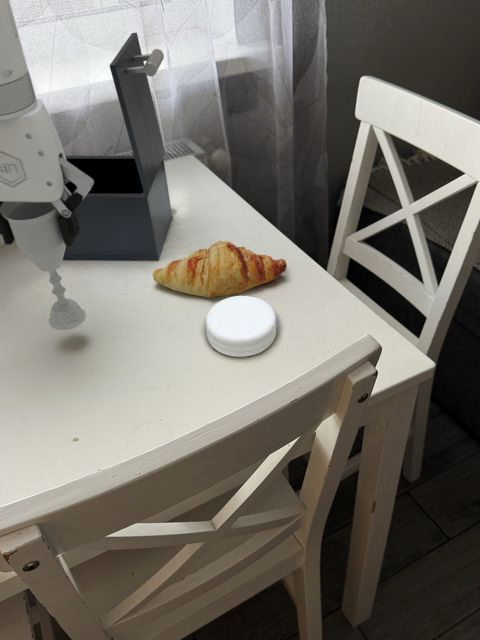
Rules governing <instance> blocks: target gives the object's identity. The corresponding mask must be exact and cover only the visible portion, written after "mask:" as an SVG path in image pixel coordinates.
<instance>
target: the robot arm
mask: <svg viewBox="0 0 480 640" xmlns="http://www.w3.org/2000/svg"><path fill="white" fill-rule="evenodd" d="M51 117H52V116H51V115H50V113H49V110H48V109H47V107H46V105H45V103H44V102H43V100H42V99H41V98H37V97H36V93H35V89H34V85H33V82H32V78H31V74H30V71H29V68H28V64H27V60H26V57H25V53H24V49H23V46H22V42H21V39H20V35H19V31H18V27H17V24H16V20H15V16H14V12H13V9H12V5H11V1H10V0H0V207H1V205H2V203H3V202H51V203H52V204H53V206H54V207H55V208H56V209H57V210H58V212H59V213H60V215H59V217H58V223H59V226H60V229H61V233H62V236H63V240H64V243H65V245H66V246H72V244H73V242H74V240H75V238H76V236H78V235H79V232H80V228H79V224H78V220H77V216H76V212H75V209H76V208H77V207H78V206H79V205H80V203H81V202H82V200H83V199H84V198H85V197H86V195H87V194H88V192H89V191H90V190H91V188H92V186H93V184H94V180H93V179H92V178H91V177H89V176H88V175H86V174H85V173H83V172H82V171H81V170H79V169H78V168H76V167H75V166H73V165H72V164H71V163H69V162H68V161H67V160H66V157H65V156H66V153H65V150H64V147H63V145H62V142H61V139H60V137H59V134H58V131H57V128H56V126H55V124H54V122H53V119H52V118H51ZM69 181H71V182H72V183H74V184H75V185H76V186H77V189H76V190H75V191H74V192H73V193H72V194H71V192H70V191H69V190H68V189H67V187H66V186H65V185H64V184H66V183H68V182H69ZM0 235H1V237H2V239H3V242H4V244H5V245H6V246H7V245H12V244H13V243H14V241H15V238H14V235H13V232H12V230H11V227H10V224H9V221H8V220H7V219H6V218H5V217H4V216H2V214H1V212H0Z"/></svg>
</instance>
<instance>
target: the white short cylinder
mask: <svg viewBox="0 0 480 640" xmlns="http://www.w3.org/2000/svg"><path fill="white" fill-rule="evenodd" d="M205 328H206V337H207V340H208V342H209V344H210V346H211V347H212V348H213V349H215V350H216V351H217V352H218V353H221V354H223V355H226V356H229V357H237V358H238V357H240V358H242V357H243V358H244V357H249V356H251V357H252V356H255V355H257V354H259V353H262V352H263V351H265V350H267V349H268V348H269V347H270V346H271V345H272V344H273V342H274V341H275V338H276V336H277V315H276V312H275V310H274V308H273V307H272V306H271V304H269V303H268V302H267V301H265V300H263V299H261V298H258V297H255V296H250V295H234V296H230V297H227V298H224V299H221V300H220V301H218V302H217V303H215V304H213V305H212V307H210V309H208V311H207V314H206V317H205Z"/></svg>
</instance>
